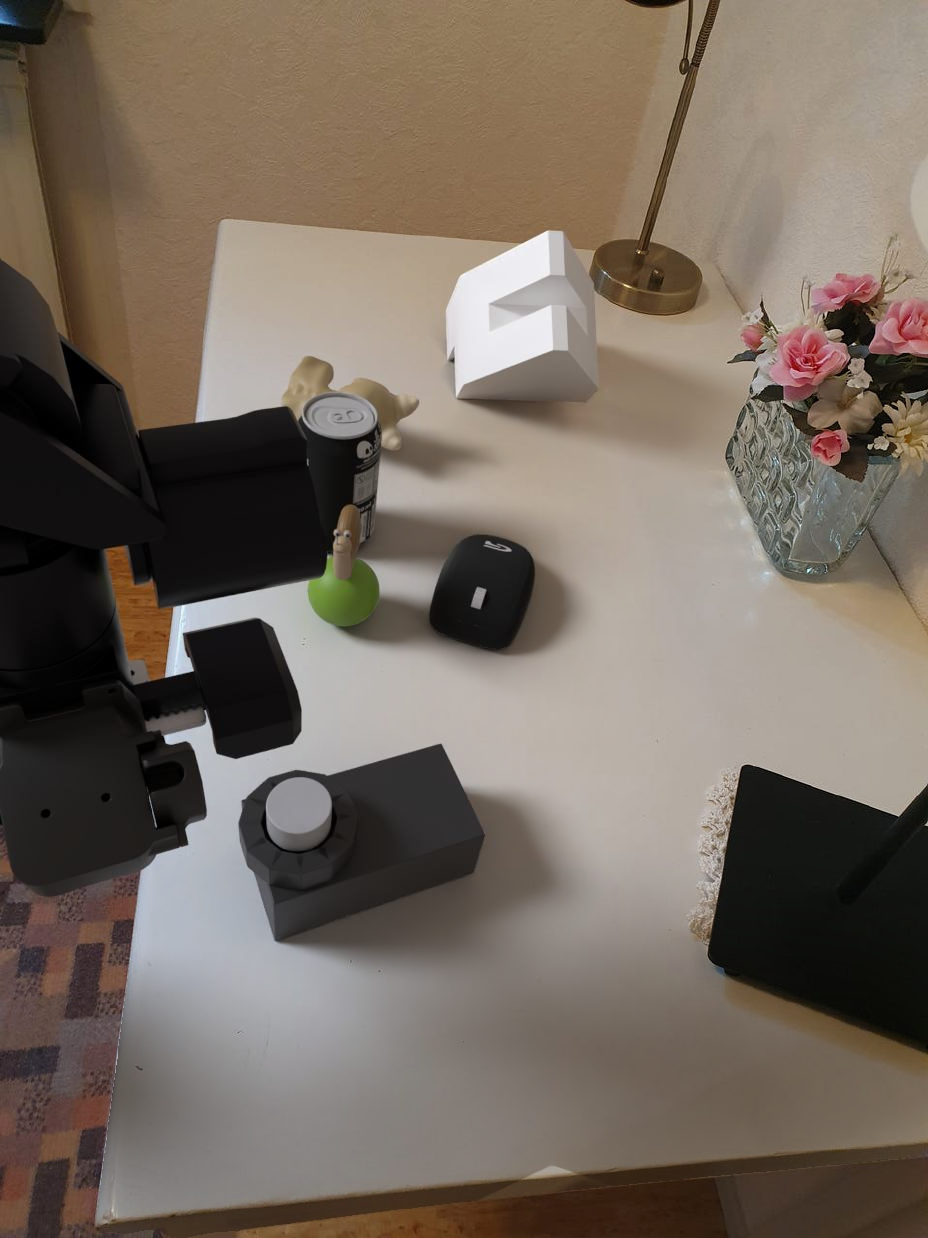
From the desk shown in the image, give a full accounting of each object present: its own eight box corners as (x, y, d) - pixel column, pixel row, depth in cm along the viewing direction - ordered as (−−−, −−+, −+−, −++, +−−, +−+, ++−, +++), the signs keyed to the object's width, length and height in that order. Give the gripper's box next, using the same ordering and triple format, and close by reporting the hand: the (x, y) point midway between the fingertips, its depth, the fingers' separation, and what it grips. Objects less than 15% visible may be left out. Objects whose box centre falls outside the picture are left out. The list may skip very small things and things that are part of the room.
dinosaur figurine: (308, 344, 87) (416, 358, 81) (335, 400, 92) (438, 417, 87) (262, 405, 83) (372, 424, 78) (294, 460, 89) (398, 481, 84)
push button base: (262, 946, 54) (258, 892, 49) (232, 845, 58) (226, 785, 53) (474, 873, 59) (491, 817, 54) (433, 784, 63) (445, 724, 58)
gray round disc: (276, 860, 51) (276, 842, 49) (259, 806, 53) (258, 787, 52) (339, 840, 52) (340, 822, 51) (319, 788, 54) (320, 769, 53)
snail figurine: (300, 646, 70) (300, 528, 61) (312, 586, 74) (315, 467, 65) (372, 654, 70) (383, 538, 61) (380, 594, 75) (391, 477, 66)
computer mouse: (543, 561, 80) (552, 526, 77) (511, 660, 72) (520, 626, 69) (460, 537, 80) (466, 502, 78) (419, 633, 72) (424, 598, 69)
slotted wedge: (448, 410, 99) (484, 346, 81) (445, 310, 100) (480, 225, 82) (573, 414, 101) (634, 353, 84) (569, 316, 102) (628, 235, 85)
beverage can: (287, 510, 80) (286, 392, 71) (360, 500, 82) (368, 384, 73) (307, 563, 76) (308, 444, 67) (383, 550, 78) (394, 434, 69)
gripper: (-294, 886, 26) (-112, 1065, 37) (349, 717, 32) (335, 913, 44) (-269, 603, 32) (-121, 830, 43) (263, 511, 39) (270, 728, 50)
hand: (99, 827), depth 45 cm, fingers closed
